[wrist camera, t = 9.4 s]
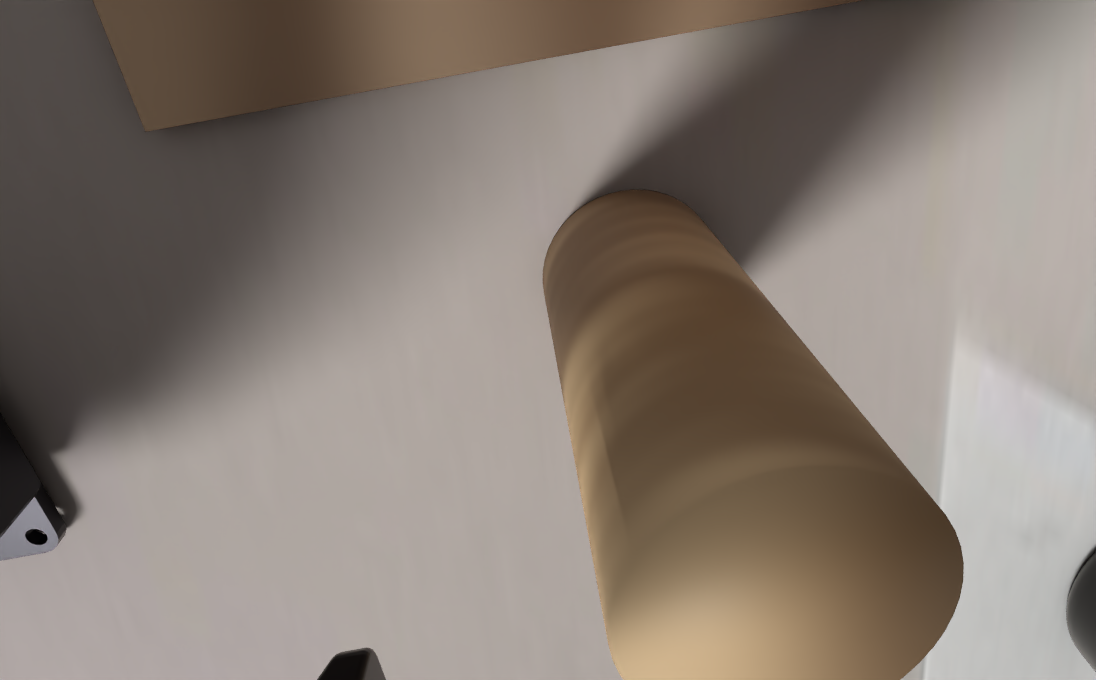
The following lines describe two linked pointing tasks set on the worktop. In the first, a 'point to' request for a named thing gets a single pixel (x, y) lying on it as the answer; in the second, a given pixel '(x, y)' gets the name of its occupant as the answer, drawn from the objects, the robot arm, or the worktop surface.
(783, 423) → the dowel
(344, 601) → the worktop surface
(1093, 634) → the supplement bottle
